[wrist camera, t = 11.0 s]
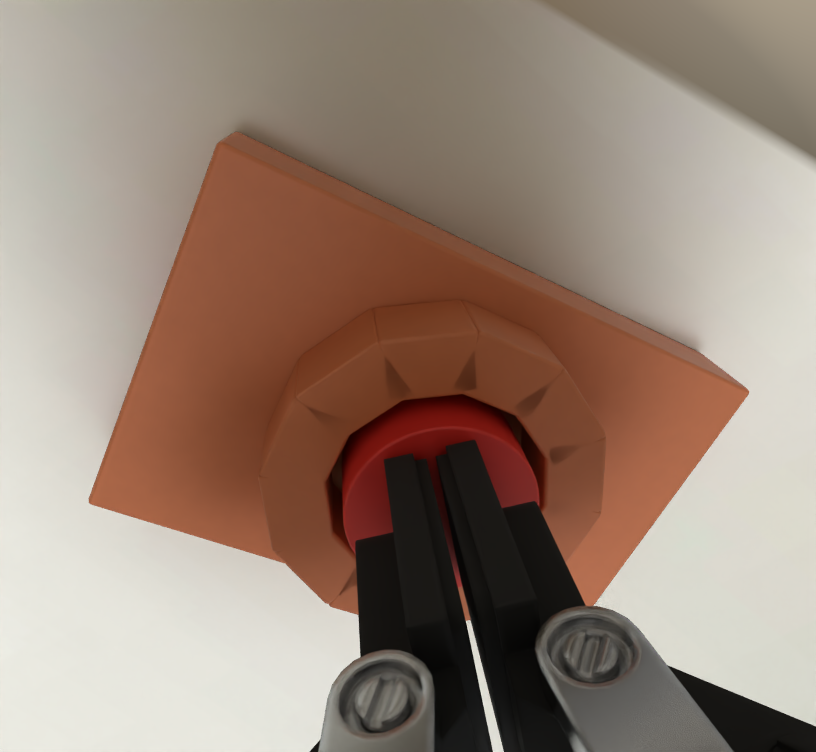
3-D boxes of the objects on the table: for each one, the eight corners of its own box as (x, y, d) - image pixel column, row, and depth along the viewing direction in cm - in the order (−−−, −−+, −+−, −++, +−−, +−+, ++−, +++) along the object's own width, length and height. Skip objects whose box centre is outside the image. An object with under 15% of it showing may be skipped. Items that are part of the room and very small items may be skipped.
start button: (313, 504, 14) (311, 560, 12) (388, 356, 13) (396, 397, 11) (465, 554, 15) (482, 612, 13) (548, 421, 14) (577, 468, 12)
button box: (116, 450, 16) (53, 561, 12) (234, 129, 13) (198, 151, 10) (539, 589, 19) (587, 710, 16) (702, 353, 16) (805, 432, 13)
